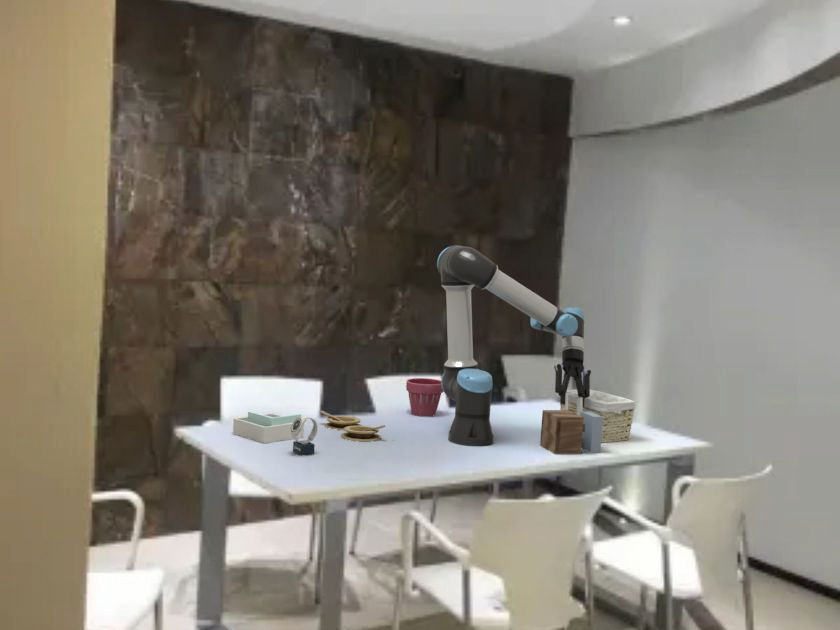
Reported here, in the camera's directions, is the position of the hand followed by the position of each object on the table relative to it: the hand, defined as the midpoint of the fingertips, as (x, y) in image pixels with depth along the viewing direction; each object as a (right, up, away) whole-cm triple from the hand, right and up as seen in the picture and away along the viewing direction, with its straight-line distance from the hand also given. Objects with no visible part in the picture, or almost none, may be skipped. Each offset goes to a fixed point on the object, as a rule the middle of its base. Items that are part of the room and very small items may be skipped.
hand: (572, 414), depth 315 cm
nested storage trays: (-101, -5, -19) cm, 103 cm away
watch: (-87, -7, -40) cm, 96 cm away
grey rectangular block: (+4, -10, -10) cm, 15 cm away
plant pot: (-51, -4, +32) cm, 61 cm away
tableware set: (-75, -6, -6) cm, 76 cm away
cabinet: (-6, -10, -13) cm, 17 cm away
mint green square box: (-100, -5, -19) cm, 102 cm away
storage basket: (+10, -9, +14) cm, 19 cm away
